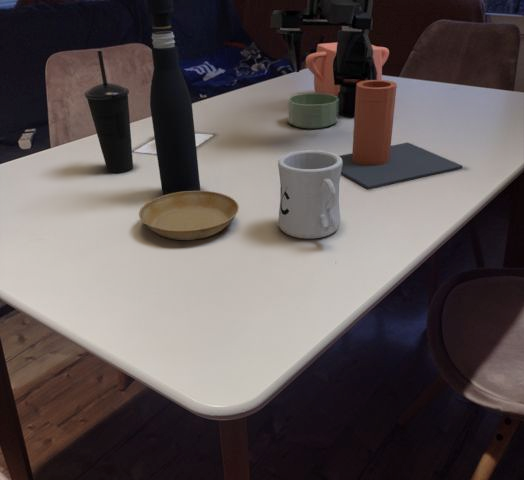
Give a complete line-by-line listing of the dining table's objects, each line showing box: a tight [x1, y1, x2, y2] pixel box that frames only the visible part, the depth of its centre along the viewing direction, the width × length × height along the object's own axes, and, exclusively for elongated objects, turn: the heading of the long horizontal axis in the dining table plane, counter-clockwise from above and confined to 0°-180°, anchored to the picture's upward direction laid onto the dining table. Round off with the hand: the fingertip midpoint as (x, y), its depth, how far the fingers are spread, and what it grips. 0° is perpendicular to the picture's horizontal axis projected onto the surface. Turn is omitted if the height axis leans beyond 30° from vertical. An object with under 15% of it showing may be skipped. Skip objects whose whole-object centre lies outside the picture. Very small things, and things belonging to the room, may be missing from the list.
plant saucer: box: [138, 190, 240, 241], centre depth 87 cm, size 15×15×3 cm
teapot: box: [305, 41, 390, 97], centre depth 142 cm, size 20×22×14 cm
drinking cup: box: [83, 50, 134, 174], centre depth 104 cm, size 8×8×20 cm
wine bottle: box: [144, 0, 202, 196], centre depth 90 cm, size 6×6×30 cm
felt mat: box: [339, 142, 463, 190], centre depth 107 cm, size 20×16×1 cm
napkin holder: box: [132, 132, 214, 155], centre depth 120 cm, size 15×11×6 cm
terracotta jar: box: [351, 79, 398, 166], centre depth 104 cm, size 7×7×13 cm
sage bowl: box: [287, 92, 339, 130], centre depth 130 cm, size 11×11×5 cm
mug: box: [277, 149, 343, 240], centre depth 82 cm, size 12×9×10 cm
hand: (318, 71), depth 113 cm, fingers open, 9 cm apart
